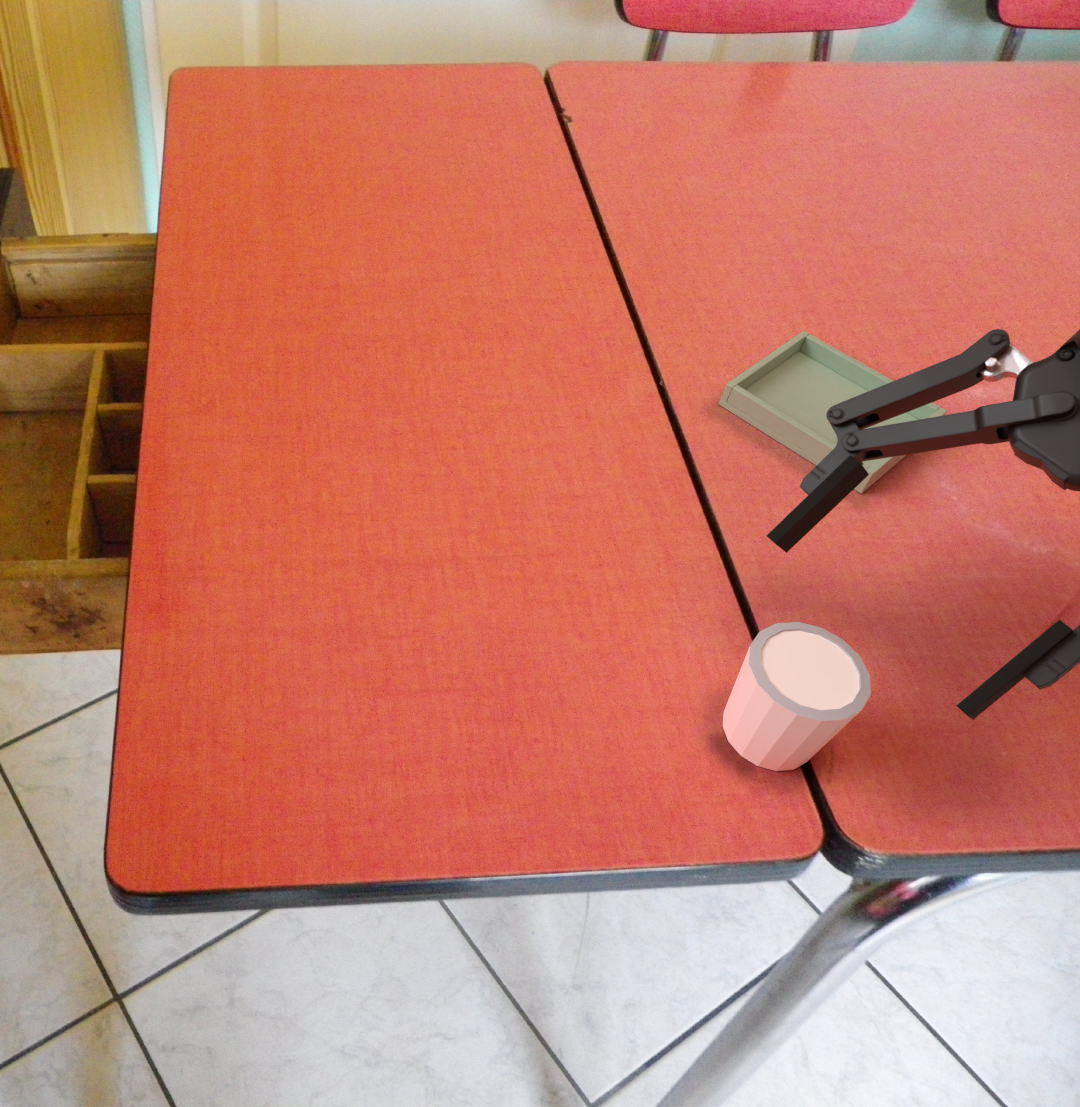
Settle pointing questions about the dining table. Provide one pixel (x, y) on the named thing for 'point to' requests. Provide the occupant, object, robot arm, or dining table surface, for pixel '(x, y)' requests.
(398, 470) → the dining table surface
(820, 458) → the green tray
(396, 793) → the dining table surface
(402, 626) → the dining table surface
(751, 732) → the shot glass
